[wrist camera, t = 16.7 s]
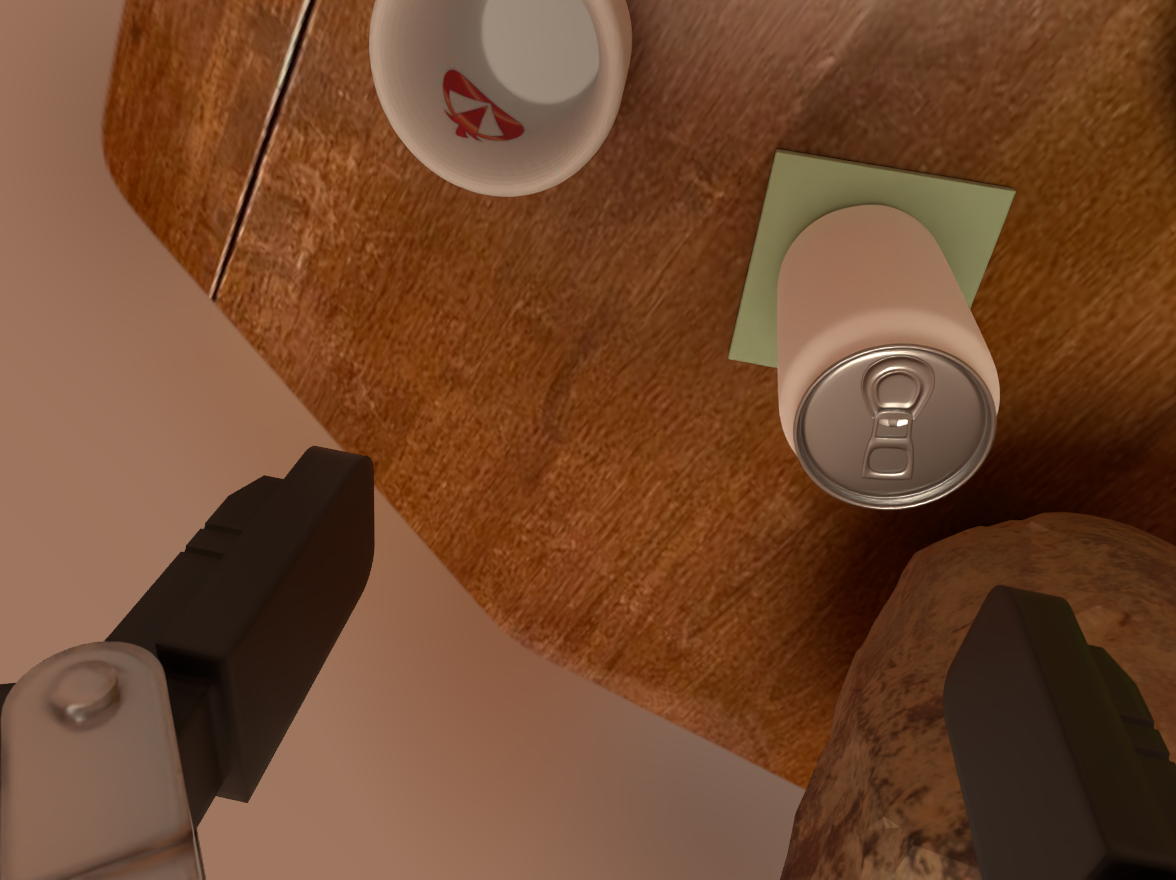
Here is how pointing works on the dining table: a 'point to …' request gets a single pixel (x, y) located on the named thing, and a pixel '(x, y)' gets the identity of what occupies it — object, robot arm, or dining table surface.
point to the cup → (501, 85)
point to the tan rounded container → (917, 676)
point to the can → (881, 362)
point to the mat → (824, 185)
